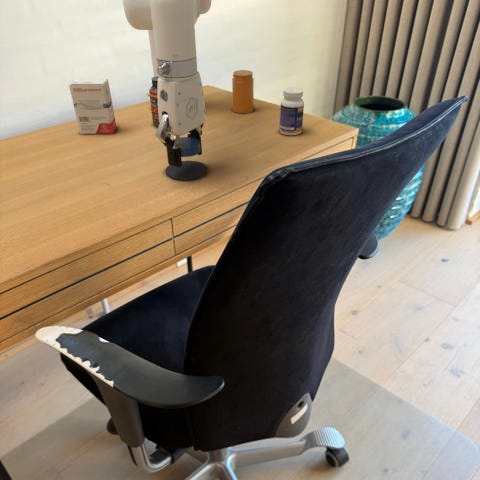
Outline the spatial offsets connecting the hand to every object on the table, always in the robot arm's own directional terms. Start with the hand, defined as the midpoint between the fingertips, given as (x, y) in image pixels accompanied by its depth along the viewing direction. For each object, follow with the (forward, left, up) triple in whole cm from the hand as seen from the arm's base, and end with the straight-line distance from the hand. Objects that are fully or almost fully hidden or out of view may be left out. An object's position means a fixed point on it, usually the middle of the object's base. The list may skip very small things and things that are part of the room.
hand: (185, 158), depth 101 cm
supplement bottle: (-22, +20, -3) cm, 30 cm away
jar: (-10, +40, -3) cm, 42 cm away
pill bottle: (+9, +32, -3) cm, 34 cm away
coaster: (0, 0, -3) cm, 3 cm away
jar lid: (0, 0, +3) cm, 3 cm away
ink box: (-34, +8, -3) cm, 35 cm away
